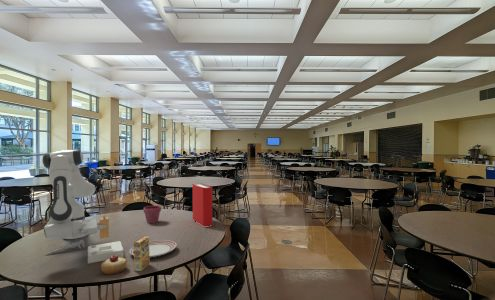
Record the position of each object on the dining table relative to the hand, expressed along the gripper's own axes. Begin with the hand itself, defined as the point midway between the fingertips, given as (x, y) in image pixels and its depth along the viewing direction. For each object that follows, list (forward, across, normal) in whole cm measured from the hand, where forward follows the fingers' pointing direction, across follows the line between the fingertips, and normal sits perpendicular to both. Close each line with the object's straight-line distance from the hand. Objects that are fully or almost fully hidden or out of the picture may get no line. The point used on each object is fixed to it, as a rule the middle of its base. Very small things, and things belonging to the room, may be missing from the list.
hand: (106, 224), depth 163 cm
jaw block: (-1, 0, +7) cm, 7 cm away
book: (+74, +35, +18) cm, 84 cm away
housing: (0, 0, +18) cm, 18 cm away
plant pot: (+38, +61, +18) cm, 74 cm away
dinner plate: (+26, -10, +18) cm, 33 cm away
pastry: (+2, -26, +18) cm, 32 cm away
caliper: (-22, +19, +18) cm, 34 cm away
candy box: (+16, -30, +18) cm, 38 cm away
